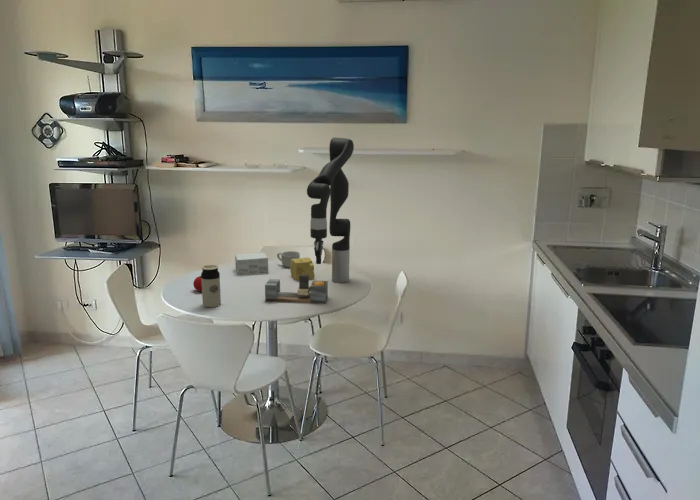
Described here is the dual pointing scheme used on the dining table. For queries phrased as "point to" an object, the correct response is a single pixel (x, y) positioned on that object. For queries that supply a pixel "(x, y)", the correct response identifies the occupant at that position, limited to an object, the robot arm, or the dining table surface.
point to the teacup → (288, 257)
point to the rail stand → (295, 293)
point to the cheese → (302, 268)
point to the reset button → (319, 283)
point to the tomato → (198, 284)
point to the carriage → (303, 285)
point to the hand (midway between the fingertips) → (318, 263)
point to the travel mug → (210, 286)
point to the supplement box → (251, 264)
